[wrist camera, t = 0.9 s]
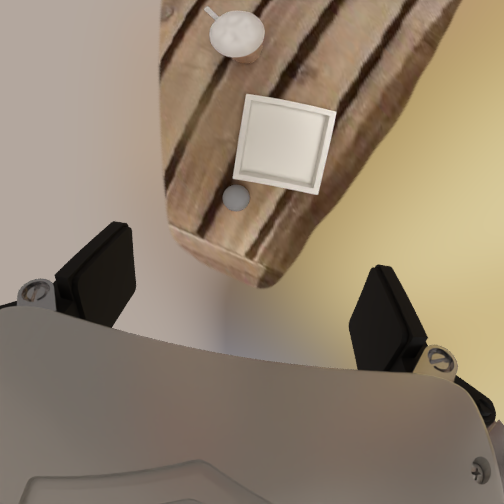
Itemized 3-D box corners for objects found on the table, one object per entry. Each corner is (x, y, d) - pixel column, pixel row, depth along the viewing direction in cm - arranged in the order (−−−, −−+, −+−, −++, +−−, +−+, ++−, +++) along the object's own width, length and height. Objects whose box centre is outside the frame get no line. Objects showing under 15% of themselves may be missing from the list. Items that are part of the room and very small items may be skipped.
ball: (226, 179, 33) (222, 186, 31) (252, 184, 33) (250, 191, 31) (223, 203, 35) (218, 212, 32) (248, 208, 35) (245, 217, 32)
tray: (248, 94, 28) (246, 93, 26) (332, 111, 28) (336, 111, 26) (235, 173, 33) (232, 178, 31) (315, 188, 33) (317, 194, 31)
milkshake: (240, 21, 24) (225, -11, 16) (276, 50, 26) (276, 26, 17) (211, 48, 26) (185, 26, 17) (246, 77, 28) (233, 63, 19)
